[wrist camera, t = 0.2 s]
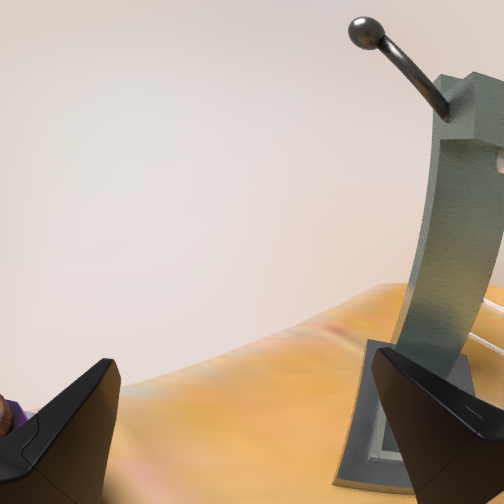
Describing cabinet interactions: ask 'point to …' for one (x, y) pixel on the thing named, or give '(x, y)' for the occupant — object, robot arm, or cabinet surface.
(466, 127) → the press
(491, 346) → the photo frame
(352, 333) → the cabinet surface
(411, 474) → the robot arm
